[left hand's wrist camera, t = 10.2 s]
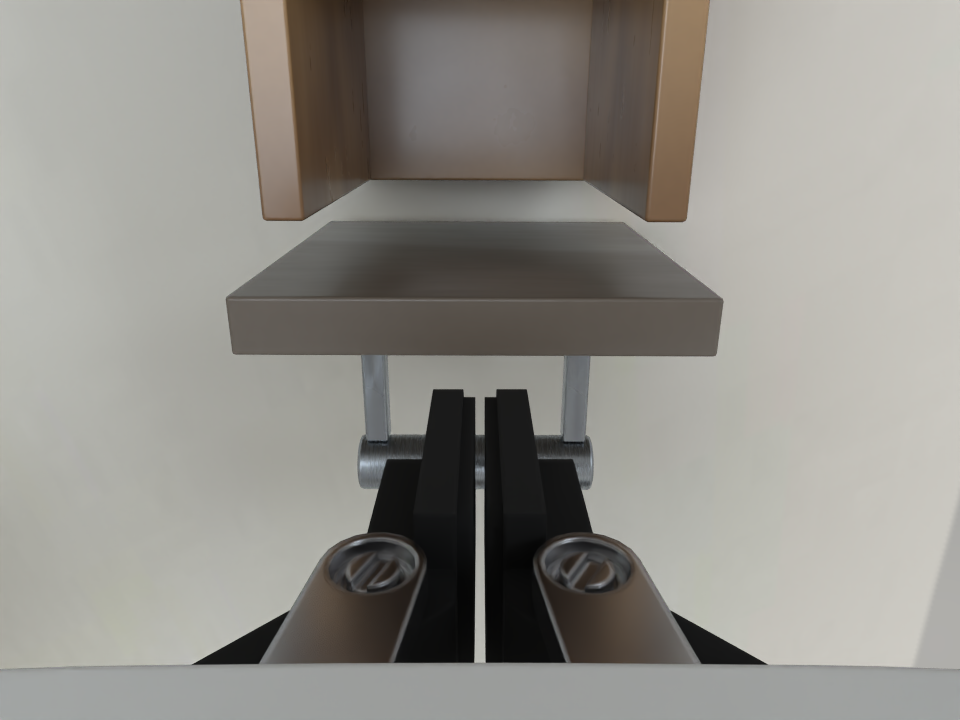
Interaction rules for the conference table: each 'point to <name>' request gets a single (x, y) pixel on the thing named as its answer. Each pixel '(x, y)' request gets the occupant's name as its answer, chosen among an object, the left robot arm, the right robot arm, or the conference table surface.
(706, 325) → the drawer
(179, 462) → the conference table surface
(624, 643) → the left robot arm
